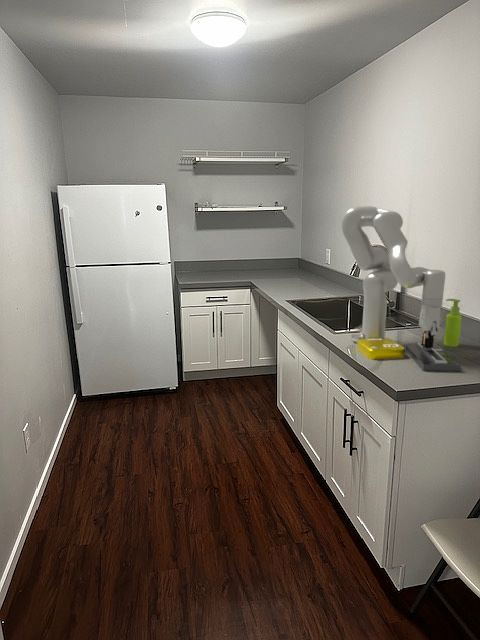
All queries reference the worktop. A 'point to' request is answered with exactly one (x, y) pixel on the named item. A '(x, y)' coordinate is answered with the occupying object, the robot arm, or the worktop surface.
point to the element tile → (380, 348)
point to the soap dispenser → (453, 325)
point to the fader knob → (424, 343)
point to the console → (432, 358)
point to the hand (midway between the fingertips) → (427, 346)
